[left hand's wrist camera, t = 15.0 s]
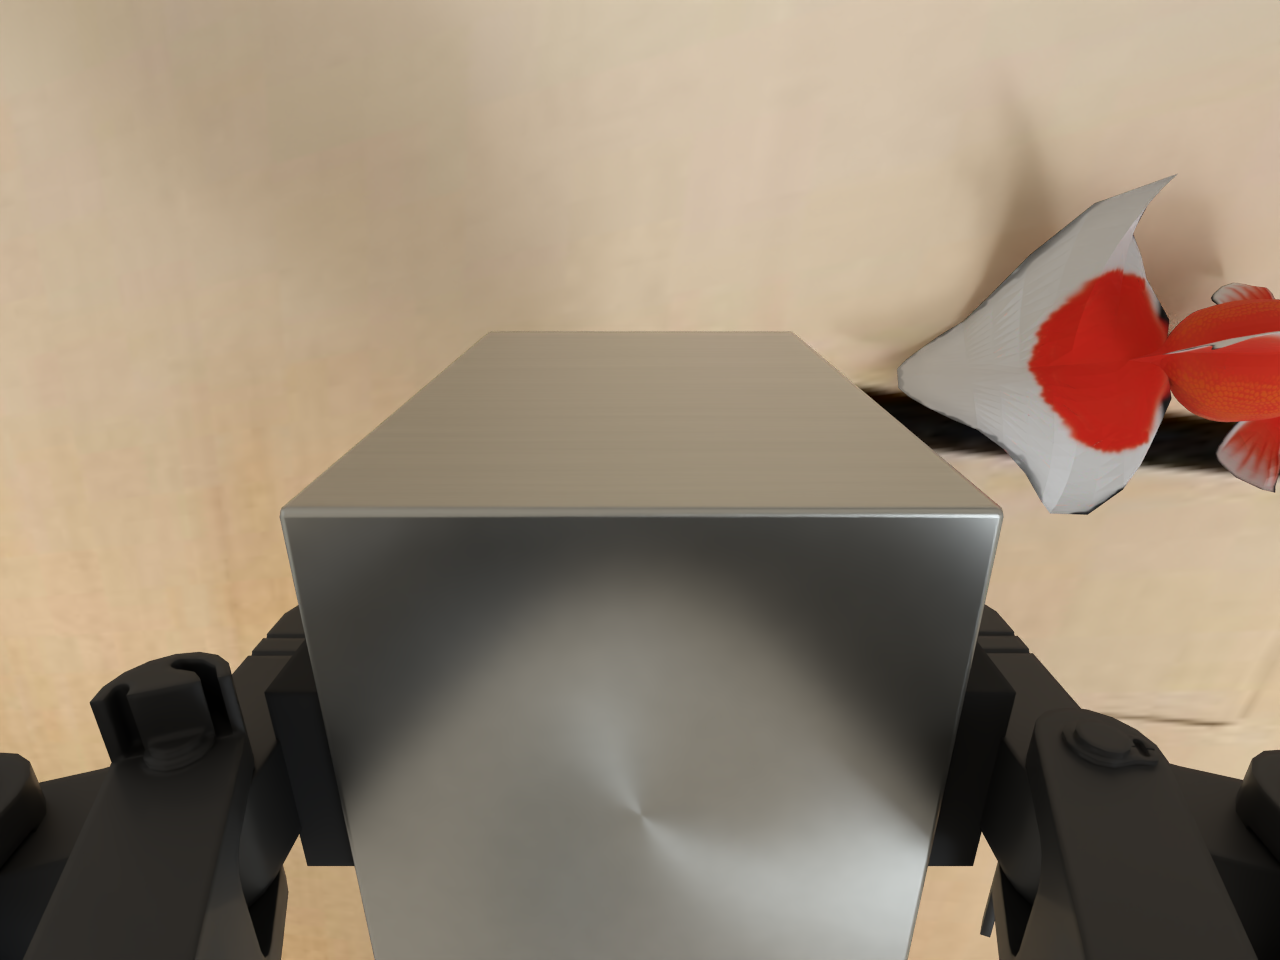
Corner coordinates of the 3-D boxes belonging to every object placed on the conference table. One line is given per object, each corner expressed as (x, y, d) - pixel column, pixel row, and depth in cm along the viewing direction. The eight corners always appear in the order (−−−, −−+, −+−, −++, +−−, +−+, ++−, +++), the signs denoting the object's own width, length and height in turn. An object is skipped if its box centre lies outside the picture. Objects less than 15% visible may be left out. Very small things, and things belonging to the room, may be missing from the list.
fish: (1280, 586, 27) (1493, 619, 17) (871, 471, 32) (863, 448, 23) (1374, 317, 26) (1646, 199, 17) (943, 246, 31) (965, 127, 22)
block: (487, 331, 16) (272, 508, 6) (793, 330, 16) (1009, 509, 6) (511, 621, 18) (386, 1027, 9) (769, 621, 18) (895, 1027, 9)
